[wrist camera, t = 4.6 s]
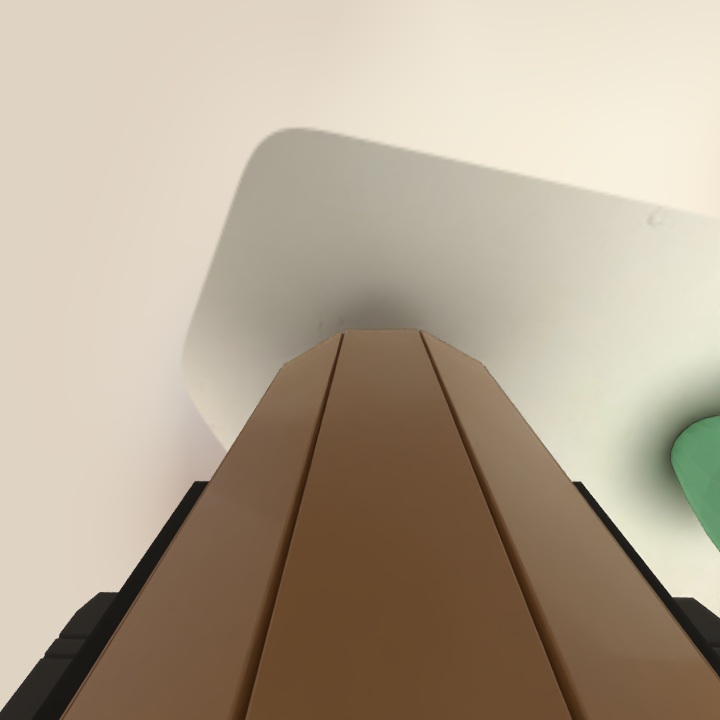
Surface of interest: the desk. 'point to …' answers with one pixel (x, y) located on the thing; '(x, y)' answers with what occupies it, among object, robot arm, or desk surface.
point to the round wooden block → (394, 567)
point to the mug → (701, 472)
